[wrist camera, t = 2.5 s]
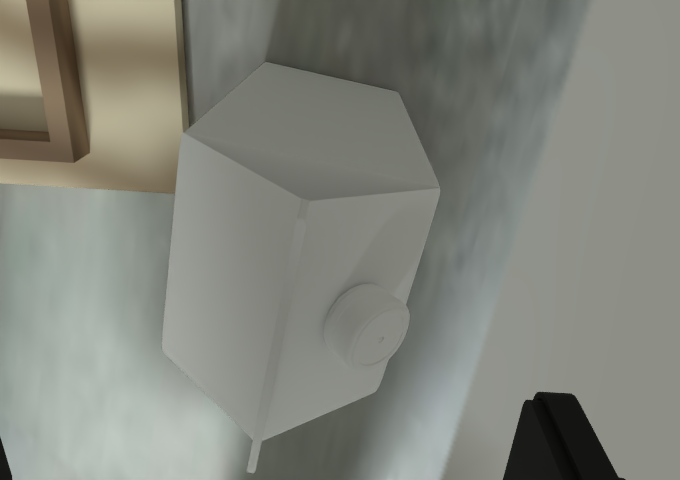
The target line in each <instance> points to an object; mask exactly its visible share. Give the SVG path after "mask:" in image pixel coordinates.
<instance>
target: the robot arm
mask: <svg viewBox="0 0 680 480" xmlns="http://www.w3.org/2000/svg"><path fill="white" fill-rule="evenodd" d="M0 480H12V475H11V471H10V468H9V465H8V461H7V458H6V455H5V451H4V448H3V445H2V441H1V438H0ZM503 480H625V479H624V478H619V477H618V476H617V474H616V472H615V470H614V468H613V466H612V464H611V462H610V461H609V459H608V457H607V455H606V453H605V451H604V449H603V447H602V445H601V443H600V442H599V440H598V438H597V436H596V434H595V432H594V430H593V428H592V426H591V424H590V423H589V421H588V419H587V417H586V415H585V413H584V411H583V410H582V408H581V405H580V404H579V402H578V400H577V398H576V397H575V396H574V395H572V394H568V393H550V392H537V393H536V394H535V396H534V399H533V400H526V401H525V402H524V404H523V407H522V411H521V415H520V418H519V422H518V425H517V429H516V433H515V437H514V440H513V444H512V448H511V451H510V455H509V459H508V463H507V466H506V470H505V474H504V478H503Z"/></svg>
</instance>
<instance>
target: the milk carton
mask: <svg viewBox="0 0 680 480" xmlns="http://www.w3.org/2000/svg"><path fill="white" fill-rule="evenodd" d="M439 196H440V186H439V183H438V180H437V178H436V176H435V173H434V171H433V169H432V167H431V164H430V162H429V160H428V158H427V155H426V153H425V151H424V149H423V146H422V144H421V142H420V140H419V137H418V135H417V133H416V131H415V128H414V126H413V124H412V122H411V119H410V117H409V115H408V113H407V110H406V108H405V106H404V104H403V101H402V99H401V97H400V95H399V93H398V92H397V91H392V90H388V89H383V88H379V87H375V86H370V85H366V84H361V83H357V82H353V81H348V80H344V79H339V78H335V77H331V76H326V75H322V74H317V73H313V72H309V71H304V70H300V69H295V68H291V67H287V66H282V65H278V64H273V63H269V62H264V63H263V64H262V65H261V66H260V67H259V68H257V69H256V70H255V71H254V72H253V73H252V74H250V75H249V76H248V77H247V78H246V79H245V80H244V81H242V82H241V83H240V84H239V85H238V86H237V87H236V88H234V89H233V90H232V91H231V92H230V93H229V94H228V95H226V96H225V97H224V98H223V99H222V100H221V101H219V102H218V103H217V104H216V105H215V106H214V107H213V108H211V109H210V110H209V111H208V112H207V113H206V114H205V115H203V116H202V117H201V118H200V119H199V120H198V121H197V122H195V123H194V124H193V125H192V126H191V127H190V128H188V129H187V130H186V131H185V132H182V135H181V141H180V149H179V158H178V168H177V179H176V190H175V201H174V212H173V223H172V233H171V244H170V255H169V266H168V277H167V288H166V298H165V309H164V320H163V331H162V352H163V353H164V354H165V355H166V356H167V357H168V358H169V359H170V360H171V361H172V362H174V363H175V364H176V365H177V366H178V367H179V368H180V369H181V370H182V371H183V372H184V373H185V374H186V375H187V376H188V377H189V378H190V379H191V380H192V381H193V382H194V383H195V384H196V385H197V386H198V387H199V388H200V389H201V390H202V391H203V392H204V393H205V394H206V395H207V396H208V397H209V398H210V399H211V400H212V401H214V402H215V403H216V404H217V405H218V406H219V407H220V408H221V409H222V410H223V411H224V412H225V413H226V414H227V415H228V416H229V417H230V418H231V419H232V420H233V421H234V422H235V423H236V424H237V425H238V426H239V427H240V428H241V429H242V430H243V431H244V432H245V433H246V434H247V435H248V436H249V437H250V438H251V439H252V440H253V441H252V446H251V451H250V456H249V461H248V466H247V472H248V473H254V472H255V471H256V466H257V461H258V457H259V452H260V447H261V442H262V441H264V440H266V439H269V438H271V437H273V436H276V435H278V434H280V433H283V432H285V431H287V430H290V429H292V428H294V427H296V426H299V425H301V424H303V423H306V422H308V421H310V420H313V419H315V418H317V417H320V416H322V415H324V414H327V413H329V412H331V411H334V410H336V409H338V408H340V407H343V406H345V405H347V404H350V403H352V402H354V401H357V400H359V399H361V398H364V397H366V396H368V395H370V394H372V393H374V392H376V391H377V389H378V388H379V386H380V383H381V381H382V378H383V375H384V372H385V369H386V366H387V363H388V360H389V359H390V358H391V357H392V356H393V355H394V353H395V352H396V351H397V350H398V348H399V347H400V345H401V344H402V342H403V340H404V338H405V336H406V333H407V330H408V327H409V322H410V312H409V310H408V307H407V306H406V303H407V300H408V297H409V294H410V291H411V288H412V284H413V281H414V278H415V275H416V272H417V269H418V265H419V262H420V259H421V256H422V253H423V250H424V246H425V243H426V240H427V237H428V234H429V230H430V227H431V224H432V221H433V217H434V214H435V211H436V207H437V204H438V200H439Z"/></svg>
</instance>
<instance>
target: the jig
mask: <svg viewBox="0 0 680 480" xmlns="http://www.w3.org/2000/svg"><path fill="white" fill-rule="evenodd" d="M188 128H189V115H188V99H187V83H186V67H185V51H184V35H183V19H182V3H181V0H0V183H8V184H24V185H41V186H58V187H74V188H91V189H108V190H125V191H141V192H158V193H175V190H176V179H177V168H178V158H179V149H180V141H181V135H182V132H185V131H186V130H187V129H188Z"/></svg>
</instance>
